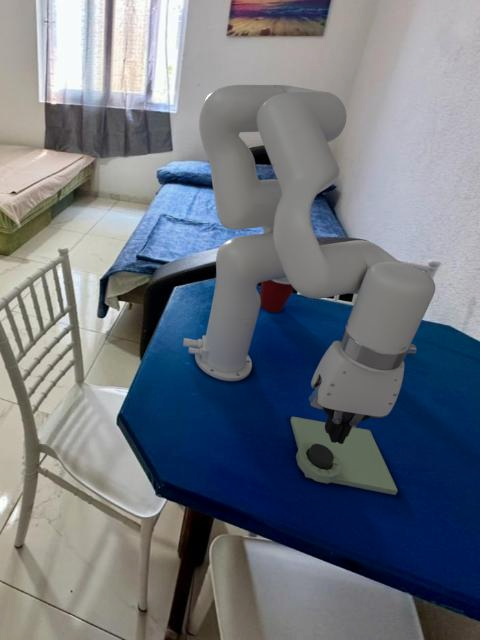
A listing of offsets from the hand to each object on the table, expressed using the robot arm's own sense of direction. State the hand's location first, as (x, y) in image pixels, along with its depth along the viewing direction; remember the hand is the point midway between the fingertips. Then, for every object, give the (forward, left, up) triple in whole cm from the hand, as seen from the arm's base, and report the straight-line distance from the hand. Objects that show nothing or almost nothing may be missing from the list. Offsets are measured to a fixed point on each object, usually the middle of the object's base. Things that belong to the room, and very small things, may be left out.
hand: (334, 435), depth 66 cm
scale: (+5, +4, -9) cm, 11 cm away
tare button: (0, 0, -7) cm, 7 cm away
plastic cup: (+1, +50, -10) cm, 51 cm away
